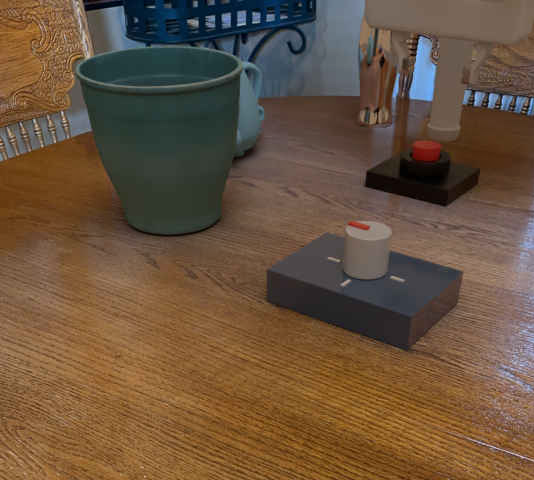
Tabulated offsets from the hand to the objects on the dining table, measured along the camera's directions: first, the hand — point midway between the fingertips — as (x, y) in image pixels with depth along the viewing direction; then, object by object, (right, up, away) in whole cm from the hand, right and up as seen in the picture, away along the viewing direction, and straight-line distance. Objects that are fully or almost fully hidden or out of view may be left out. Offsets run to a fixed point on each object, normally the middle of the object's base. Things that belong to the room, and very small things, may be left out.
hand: (436, 78), depth 86 cm
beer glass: (-3, +10, +31) cm, 33 cm away
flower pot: (-33, -17, +1) cm, 37 cm away
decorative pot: (-30, 0, +20) cm, 36 cm away
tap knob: (-11, -29, -18) cm, 36 cm away
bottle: (+7, +4, +25) cm, 26 cm away
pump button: (0, -7, +6) cm, 10 cm away
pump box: (0, -10, +9) cm, 13 cm away
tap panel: (-11, -32, -15) cm, 37 cm away
